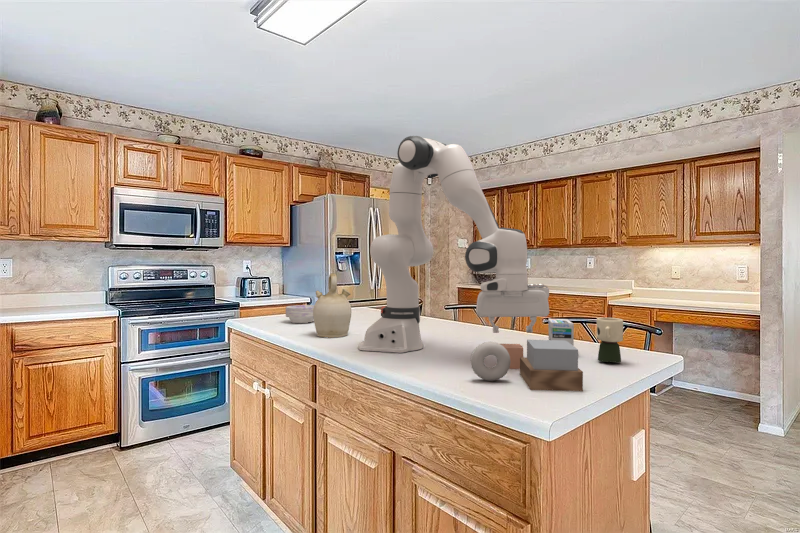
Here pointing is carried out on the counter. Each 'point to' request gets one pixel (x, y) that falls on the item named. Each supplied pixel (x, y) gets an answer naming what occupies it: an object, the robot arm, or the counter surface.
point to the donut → (492, 372)
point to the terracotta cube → (514, 354)
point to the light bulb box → (561, 330)
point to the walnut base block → (550, 378)
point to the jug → (332, 311)
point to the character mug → (609, 339)
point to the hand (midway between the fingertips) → (512, 332)
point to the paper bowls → (300, 313)
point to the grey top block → (552, 355)
